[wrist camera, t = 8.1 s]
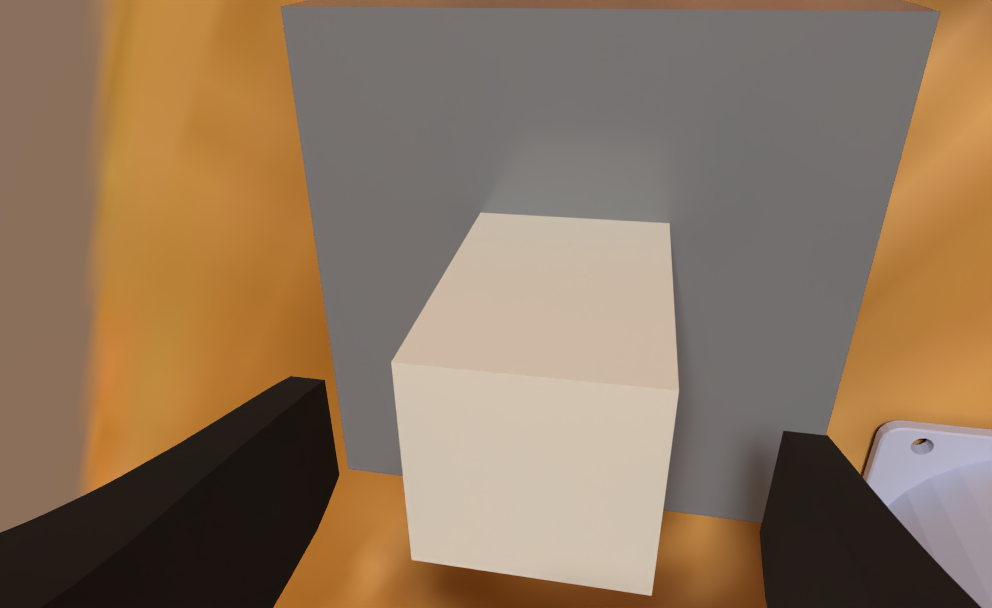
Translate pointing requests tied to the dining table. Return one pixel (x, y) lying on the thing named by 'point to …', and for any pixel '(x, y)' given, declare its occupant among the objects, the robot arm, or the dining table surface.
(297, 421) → the robot arm
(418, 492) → the block
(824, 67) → the tile
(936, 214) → the dining table surface
